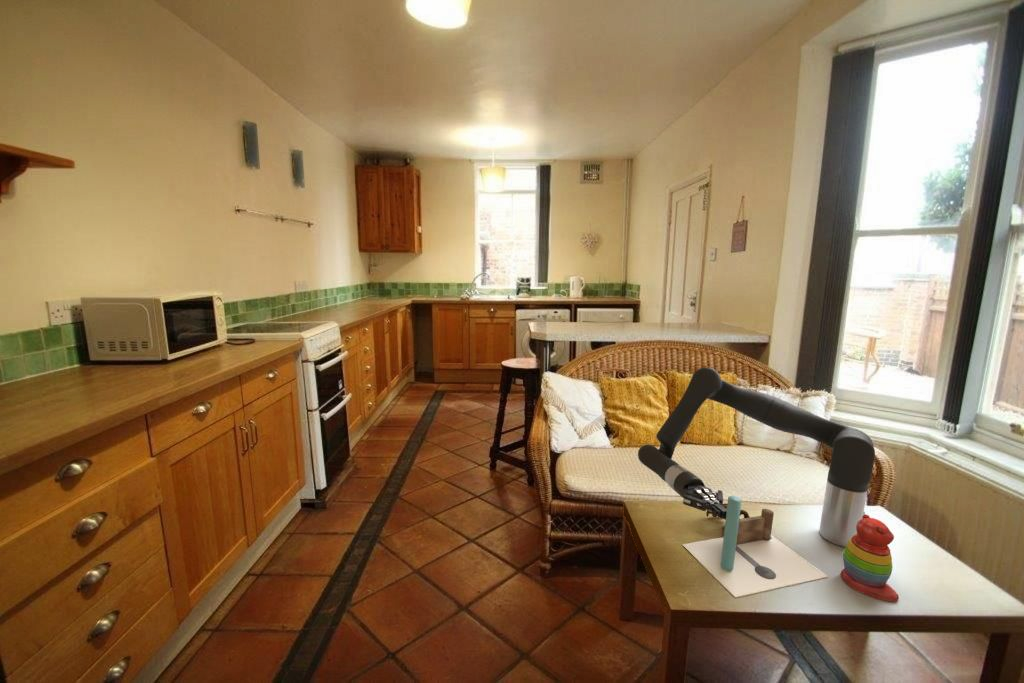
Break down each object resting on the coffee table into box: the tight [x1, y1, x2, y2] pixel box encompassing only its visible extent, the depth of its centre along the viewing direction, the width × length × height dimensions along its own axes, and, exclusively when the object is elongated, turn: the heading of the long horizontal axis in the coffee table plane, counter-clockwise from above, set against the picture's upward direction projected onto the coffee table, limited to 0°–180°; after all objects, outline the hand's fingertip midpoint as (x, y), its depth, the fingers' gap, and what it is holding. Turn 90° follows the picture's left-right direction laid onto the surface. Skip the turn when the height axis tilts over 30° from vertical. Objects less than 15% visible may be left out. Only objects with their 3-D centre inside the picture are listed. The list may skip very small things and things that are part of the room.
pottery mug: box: [705, 503, 751, 536], centre depth 129 cm, size 12×10×8 cm
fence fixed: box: [736, 508, 775, 546], centre depth 121 cm, size 15×3×8 cm, turn 105°
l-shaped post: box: [721, 495, 742, 571], centre depth 112 cm, size 12×3×20 cm, turn 148°
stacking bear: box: [840, 513, 900, 603], centre depth 104 cm, size 11×10×18 cm
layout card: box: [682, 534, 829, 599], centre depth 114 cm, size 29×20×1 cm
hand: (725, 515), depth 109 cm, fingers closed
